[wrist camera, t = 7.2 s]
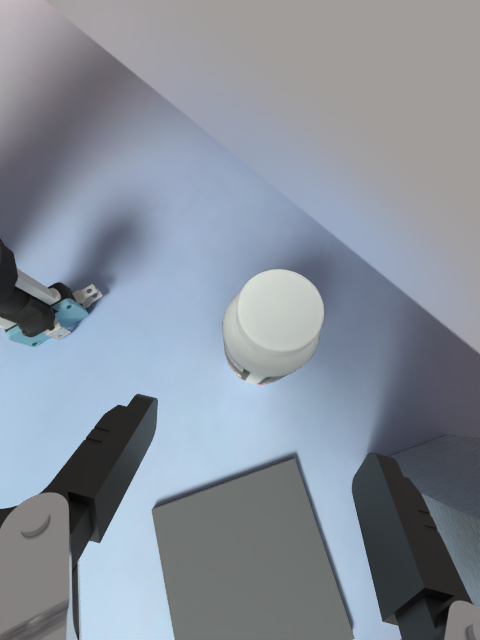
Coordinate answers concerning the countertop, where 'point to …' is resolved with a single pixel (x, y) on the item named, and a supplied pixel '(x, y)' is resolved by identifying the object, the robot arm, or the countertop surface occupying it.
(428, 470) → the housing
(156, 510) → the pad
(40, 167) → the countertop surface
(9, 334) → the push button
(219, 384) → the countertop surface
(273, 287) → the pill bottle
